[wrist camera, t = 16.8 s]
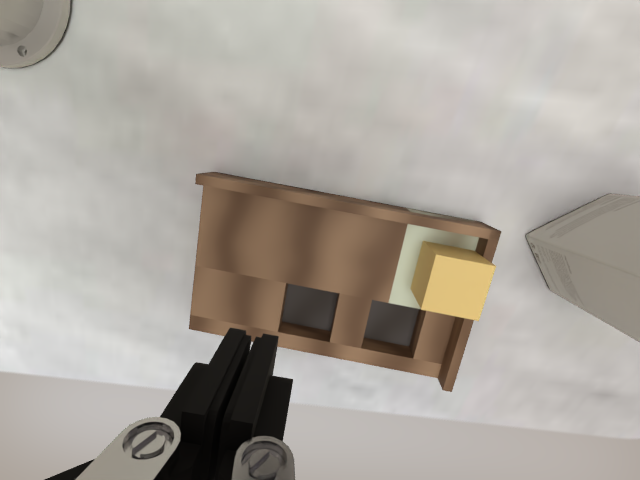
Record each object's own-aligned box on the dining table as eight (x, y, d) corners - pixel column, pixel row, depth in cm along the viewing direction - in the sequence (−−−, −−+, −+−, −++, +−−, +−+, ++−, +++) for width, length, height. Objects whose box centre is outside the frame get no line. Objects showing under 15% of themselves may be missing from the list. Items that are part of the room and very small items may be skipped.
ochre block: (410, 288, 32) (420, 309, 27) (422, 240, 31) (436, 254, 26) (460, 298, 32) (478, 320, 27) (474, 250, 31) (496, 266, 26)
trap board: (198, 317, 36) (180, 338, 32) (214, 171, 33) (196, 174, 29) (439, 365, 36) (451, 391, 32) (481, 222, 32) (501, 231, 28)
